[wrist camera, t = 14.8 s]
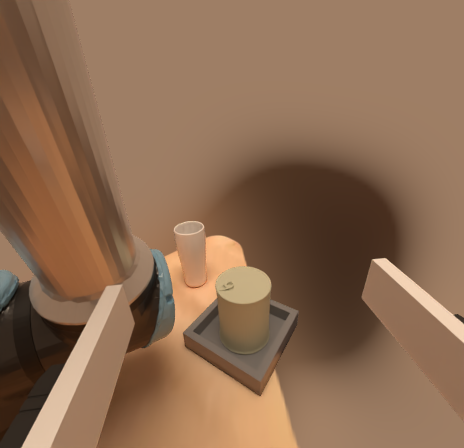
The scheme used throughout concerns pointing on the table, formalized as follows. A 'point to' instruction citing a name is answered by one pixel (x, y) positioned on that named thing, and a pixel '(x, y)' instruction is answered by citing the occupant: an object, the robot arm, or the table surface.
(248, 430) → the table surface
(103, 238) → the robot arm
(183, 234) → the drinking glass
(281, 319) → the tray
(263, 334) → the can
